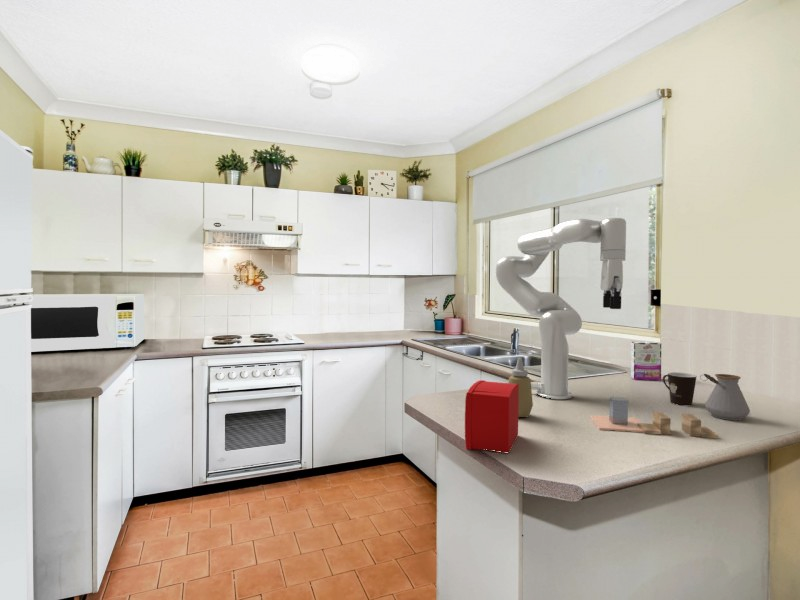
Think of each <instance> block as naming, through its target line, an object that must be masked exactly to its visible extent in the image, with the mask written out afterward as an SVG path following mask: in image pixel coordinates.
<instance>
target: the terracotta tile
mask: <svg viewBox="0 0 800 600" xmlns="http://www.w3.org/2000/svg"><path fill="white" fill-rule="evenodd" d="M589 416H590V419H591V420H592V421H594V422H593V423H594V424H595V426H596V425H597V426H596V427H597V429H598V430H599V431H609V430H615V431H614V432H625V431H631V432H630V433H641V432H644V430H643V429H642V428H641V427H640V426H639V425H638V424H637V423H642V422H641V421H640V420H639V419H637V417H631V416H630V417H629V416H628V425H621V424H612V423H611V421H610V420H609V415H594V414H593V415H591V414H590V415H589Z"/></svg>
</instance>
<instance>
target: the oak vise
mask: <svg viewBox="0 0 800 600" xmlns="http://www.w3.org/2000/svg"><path fill="white" fill-rule="evenodd" d="M652 414H653V416H652V423H647V422H645V423H644V422H641V423H637V424H638V425H639V426H640V427H641V428H642V429H643V430H644V434H645V433H649V434H648V435H655V434H661V435H663V434H670V435H671V421H672V420H671V417H669V416H668V415H666V413H664V412H658V411H653V413H652ZM681 430H682V431H683V432H684V431H685V432H684V433H685V434H687V435H688V434H689V435H688V436H690V437H694V436H700V437H699V438H702V437H707V438H706V439H716V440H717V439H719V434H718V433H716V432H715V431H713V430H712V429H710V428H709V427H707V426H702V420H701V419H700V418H698V417H697V416H695V415H694V414H691V413H682V414H681Z"/></svg>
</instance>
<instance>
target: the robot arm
mask: <svg viewBox="0 0 800 600" xmlns="http://www.w3.org/2000/svg"><path fill="white" fill-rule="evenodd" d="M626 240H627V221H626V220H625V218H622V217H609V218H605V219H602V220H600V221H599V220H593V219H587V218H579V219H573V220H568V221H565V222H560V223H558V224H556V225H554V226H553V227H549V228H545V229H540V230H535V231H531V232H527V233H524V234H523V235H521V236H520V237H519V238H518V240H517V248H518V251H520V252H521V254H524V256H515V255H509V256H503V257H502V258H500V259H499V260H498V261H497V263H496V266H495V275H496V280H497V282H498V284H499V286H501V288H502V289H503V290H504V291H505V292H506V293H507V294H508V295H510V297H512V299H513V300H515V302H516V303H518V305H520V307H521V308H523V309H524V311H525V312H526V313H527V314H528V315H530V316H531V317H535V318H539V321H538V327H539V333H540V340H541V341H540V342H541V345H540V347H541V348H540V349H541V350H540V353H541V355H540V356H541V357H540V358H541V360H540V361H541V362H540V369H541V370H540V380H539V382H536V383H531V390H535V391H536V393H537V394H538V395H540V396H542V397H541V398H543V397H546V398H545V399H549V398H551V399H550V400H569V399H571V398H573V393H572V392H571V391H569V355H570V354H569V349H570V348H569V343H568V340H567V335H568V336H570V335H575V334H576V333H578V332H580V330H581V329H582V326H583V320H582V317H581V315H580V313H579V312H578V311H577V310H575V308H573V307H572V306H571V304H569V303H568V302H567V301H565V300H564V299H563V298H562V297H561V296H559V295H558V294H556V293H554V292H550V291H540V290H537V289H536V288H535V287H534V286H533V285H532V284H531V283H530V282H528V281H527V280H526V279H525V278H529V277H532V276H533V275H534V274H535V273H536V272H537V270H538V269H539V268H540V267H541V265H542V264H543V262H544V261H546V258H547V257H548V256H549V254H550V253H551V252H554V251H555V252H556V251H559V250H560V249H561V248H562V247H563V245H567V244H572V243H579V242H583V243H591V244H592V243H593V244H597V243H598V244H599V243H600V262H601V263H602V264H601V271H600V272H601V274H600V286H599V287H600V290H601V291H603V296H602V307H603V308H605V309H606V308H607V309H611V310H621V309H622V290H623V283H624V274H623V273H624V271H623V269H624V267H623V262H624V261H626V253H627V252H626V245H627V241H626ZM537 394H536V395H537ZM538 395H537V396H538ZM540 396H539V397H540Z"/></svg>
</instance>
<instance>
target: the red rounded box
mask: <svg viewBox="0 0 800 600" xmlns="http://www.w3.org/2000/svg"><path fill="white" fill-rule="evenodd" d="M464 409H465V410H464V441H465V449H466V450H472V449H473V450H478V451H479V450H480V449H485V450H486V449H487V450H495V451H501V452H509V451H510V452H511V450H512V448H513V446H514V444H515V442H516V440H517V438H518V436H519V418H518V414H519V384H511V383H509V382H498V381H486V380H476V382H474V383H473V384H472V385H471V386H470V387H469V389H468V391H467V392H466V394H465V406H464ZM517 435H518V436H517ZM516 437H517V438H516ZM515 439H516V440H515ZM514 441H515V442H514ZM513 443H514V444H513ZM512 445H513V446H512ZM511 447H512V448H511ZM510 449H511V450H510ZM485 450H484V451H485ZM480 451H481V450H480ZM510 452H509V453H510Z"/></svg>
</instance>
